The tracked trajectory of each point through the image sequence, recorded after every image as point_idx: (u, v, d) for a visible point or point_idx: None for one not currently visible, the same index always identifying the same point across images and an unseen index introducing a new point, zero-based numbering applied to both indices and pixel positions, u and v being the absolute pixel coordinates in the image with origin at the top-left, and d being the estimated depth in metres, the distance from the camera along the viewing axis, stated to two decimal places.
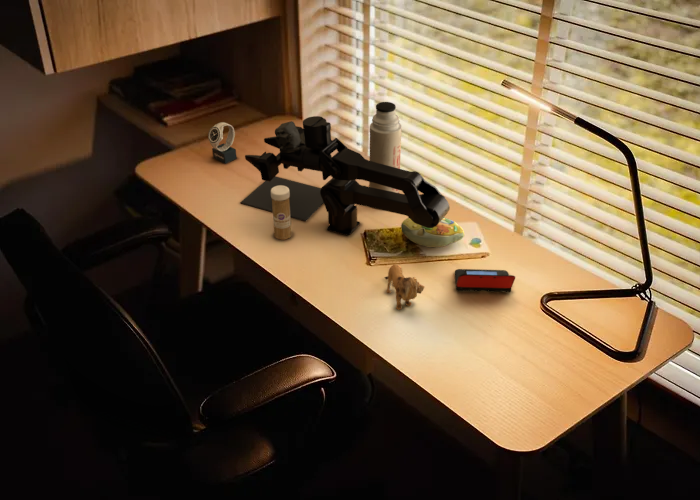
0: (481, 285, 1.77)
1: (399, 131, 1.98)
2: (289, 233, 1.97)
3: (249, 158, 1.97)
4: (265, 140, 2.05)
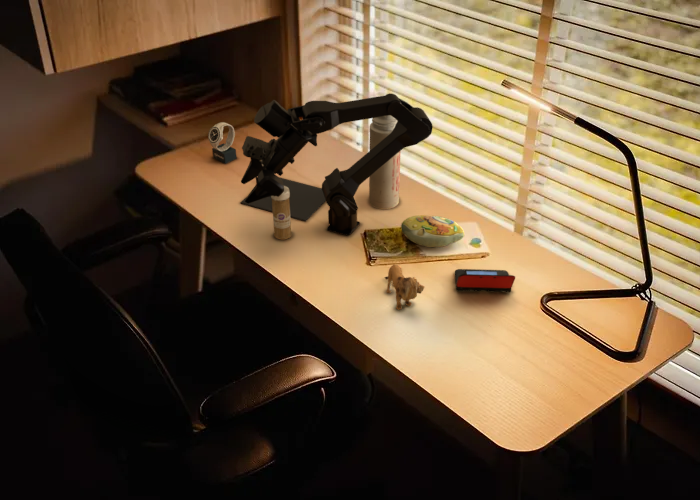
0: (481, 285, 1.77)
1: None
2: (289, 233, 1.97)
3: (250, 198, 1.85)
4: (243, 181, 1.93)
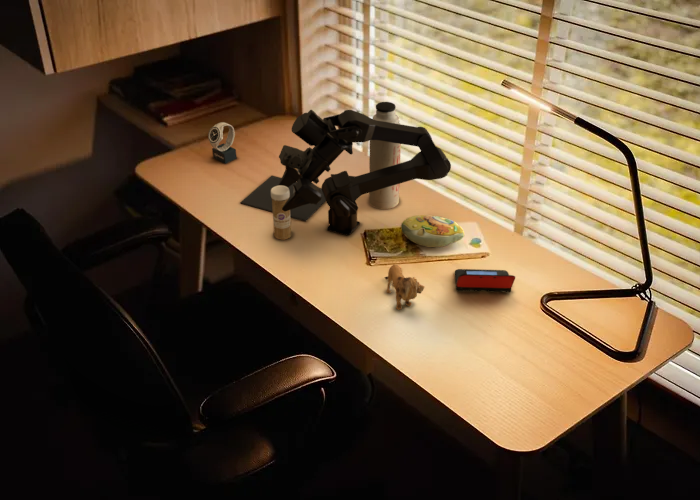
0: (481, 285, 1.77)
1: None
2: (289, 233, 1.97)
3: (287, 206, 1.88)
4: None
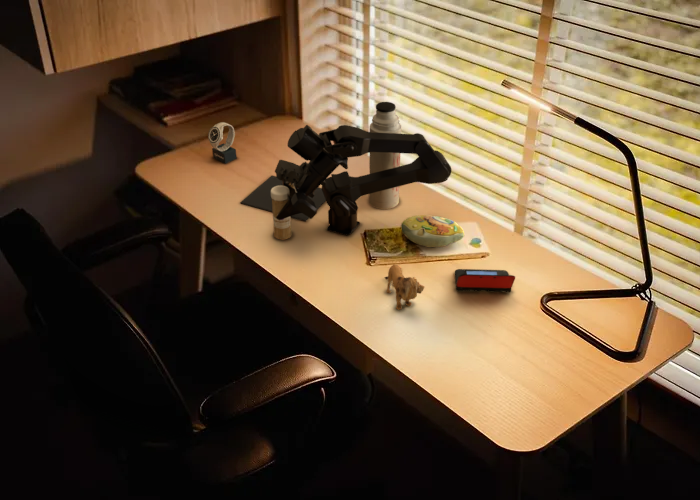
0: (481, 285, 1.77)
1: (399, 131, 1.98)
2: (289, 233, 1.97)
3: (281, 215, 1.92)
4: None
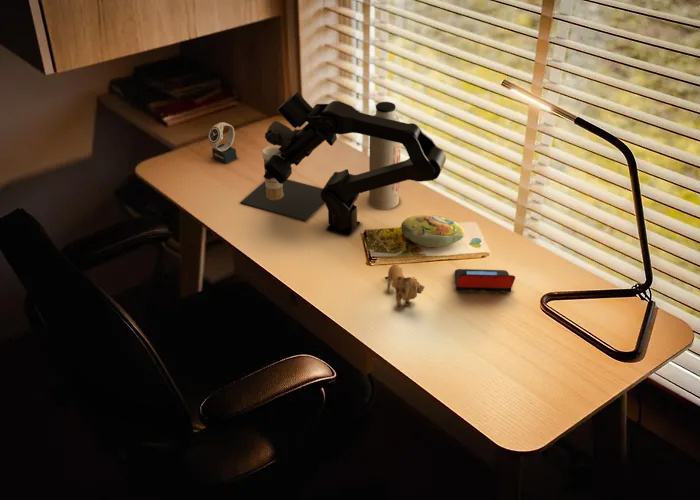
0: (481, 285, 1.77)
1: None
2: (278, 195, 2.01)
3: (267, 174, 1.96)
4: None
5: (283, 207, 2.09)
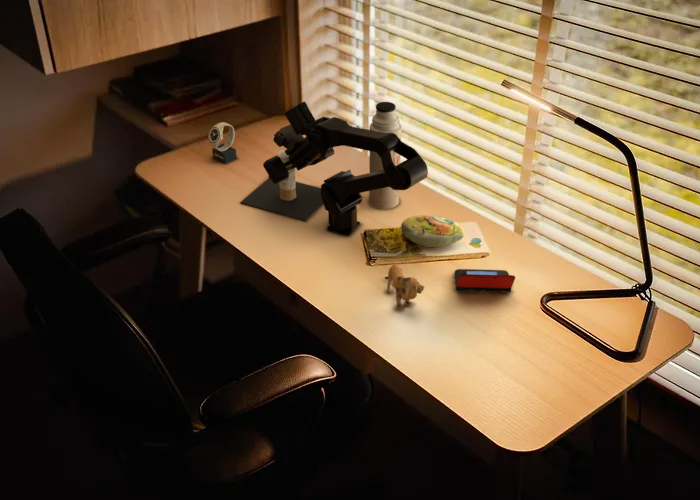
0: (481, 285, 1.77)
1: (399, 131, 1.98)
2: (287, 196, 2.11)
3: None
4: None
5: (283, 207, 2.09)
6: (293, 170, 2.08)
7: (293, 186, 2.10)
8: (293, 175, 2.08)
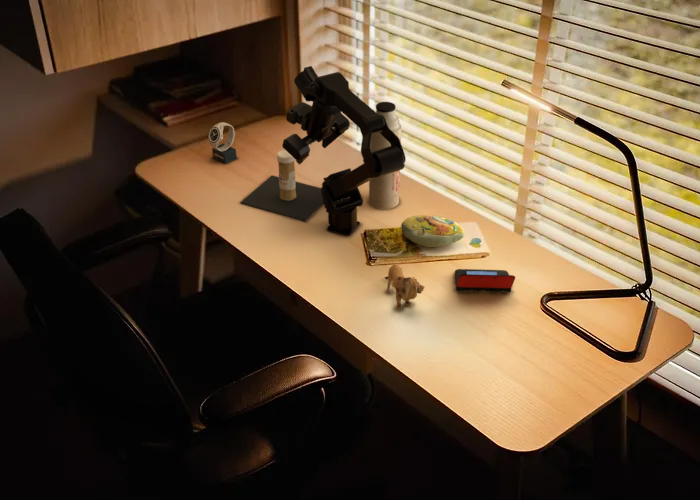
0: (481, 285, 1.77)
1: (399, 131, 1.98)
2: (287, 196, 2.11)
3: (296, 159, 2.01)
4: (323, 146, 2.07)
5: (283, 207, 2.09)
6: (293, 170, 2.08)
7: (293, 186, 2.10)
8: (293, 175, 2.08)
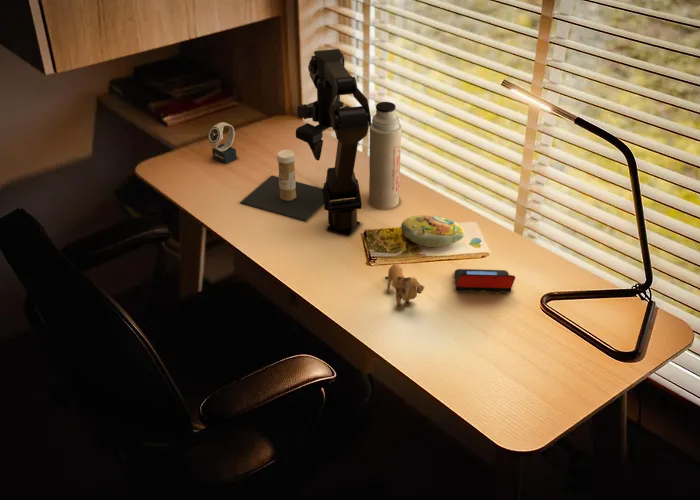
0: (481, 285, 1.77)
1: (399, 131, 1.98)
2: (287, 196, 2.11)
3: (314, 154, 2.03)
4: None
5: (283, 207, 2.09)
6: (293, 170, 2.08)
7: (293, 186, 2.10)
8: (293, 175, 2.08)
